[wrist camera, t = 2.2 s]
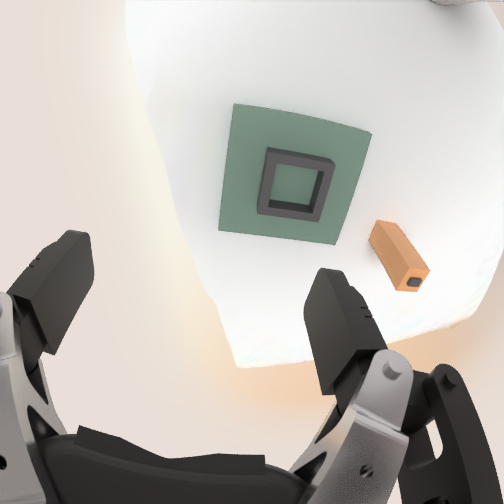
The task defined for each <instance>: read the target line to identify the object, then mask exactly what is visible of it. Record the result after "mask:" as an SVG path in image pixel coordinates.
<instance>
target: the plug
mask: <svg viewBox="0 0 504 504" xmlns="http://www.w3.org/2000/svg"><path fill="white" fill-rule="evenodd" d="M369 242H370V243H371V245H372V247H373V249H374V250H375V252H376V254H377V256H378V257H379V259H380V261H381V263H382V265H383V266H384V268H385V270H386V272H387V274H388V276H389V278H390V280H391V281H392V283H393V285H394V287H395V289H396V291H411V292H417V291H418V289H419V288H420V286H421V285H422V283H423V281H424V280H425V278H426V276H427V275H428V273H429V271H430V270H429V268H428V267H427V265H426V264H425V262H424V261H423V259H422V258H421V256H420V255H419V254H418V252H417V251H416V249H415V248H414V247H413V245H412V244H411V242H410V241H409V240H408V238H407V237H406V236H405V234H404V233H403V232H402V230H401V229H400V228H399V226H398V225H397V224H395V223H390V222H386V221H381V220H377V221H376V224H375V226H374V229H373V231H372V233H371V236H370V238H369Z"/></svg>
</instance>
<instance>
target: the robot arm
mask: <svg viewBox="0 0 504 504" xmlns="http://www.w3.org/2000/svg"><path fill="white" fill-rule="evenodd" d="M431 1H433V2H435V3H437V4H440V5H450V4H459V3H471V2H495V1H496V2H497V1H499V2H504V0H431ZM93 280H94V265H93V259H92V250H91V242H90V236H89V234H88V233H86V232H80V231H74V230H68V231H66V232H65V233H64V234H63V235H62V236H61V237H60V239H58V241H57V242H54V243H52V244H50V245H49V246H47V247H46V248H44V249H43V250H42V251H41V252H40V253H39V254H38V255H37V257H36V259H34V260H33V261H32V262H31V263H30V264H29V267H27V268H26V269H25V270H24V271H23V273H22V274H21V275H20V276H19V277H18V278H17V280H16V281H15V282H14V283H13V285H12V286H11V287H10V288H9V290H8V291H7V292H6V293H3V292H0V504H386V503H387V501H388V499H389V497H390V494H391V492H392V489H393V487H394V484H395V482H396V479H397V477H398V482H399V488H400V493H401V499H402V504H503V499H502V494H501V489H500V484H499V480H498V476H497V472H496V468H495V465H494V461H493V457H492V454H491V451H490V448H489V445H488V442H487V439H486V436H485V433H484V430H483V427H482V424H481V422H480V419H479V417H478V414H477V411H476V409H475V407H474V404H473V402H472V400H471V397H470V395H469V392H468V390H467V388H466V386H465V383H464V381H463V379H462V377H461V375H460V374H459V373H458V371H457V370H456V369H454V368H453V367H451V366H450V365H447V364H439V365H438V366H436V367H435V369H434V370H433V371H432V372H431V373H430V374H428V373H424V372H419V371H415V370H413V369H412V367H411V365H410V363H409V362H408V360H407V359H406V358H405V357H404V356H402V355H401V354H400V353H398V352H396V351H393V350H388V348H387V346H386V343H385V341H384V339H383V337H382V335H381V333H380V331H379V328H378V326H377V324H376V322H375V320H374V318H372V314H371V312H370V310H369V309H368V306H367V304H366V302H365V300H364V298H363V296H362V295H361V294H360V293H359V292H358V291H357V290H356V289H355V288H354V287H353V286H350V285H349V283H348V281H347V279H346V277H345V275H344V273H343V272H342V271H339V270H332V269H325V268H321V269H319V271H318V272H317V275H316V277H315V280H314V282H313V285H312V287H311V289H310V292H309V294H308V297H307V299H306V302H305V305H304V321H305V324H306V328H307V332H308V336H309V340H310V345H311V349H312V353H313V357H314V361H315V365H316V369H317V374H318V378H319V382H320V387H321V391H322V395H335V396H336V399H337V401H336V402H335V403H334V404H333V406H332V408H331V410H330V411H329V413H328V415H327V417H326V418H325V420H324V422H323V424H322V425H321V427H320V429H319V430H318V432H317V434H316V435H315V437H314V439H313V440H312V442H311V443H310V445H309V446H308V448H307V449H306V450H305V452H304V453H303V454H302V455H301V456H300V457H299V458H298V460H297V461H296V462H295V463H294V464H293V466H292V467H291V469H290V470H289V471H286V470H283V469H281V468H279V467H275V466H272V465H269V464H265V455H238V454H218V453H217V454H211V455H203V456H195V457H185V458H173V459H169V458H164V457H161V456H159V455H156V454H154V453H152V452H149V451H147V450H145V449H143V448H141V447H138V446H136V445H134V444H132V443H130V442H128V441H126V440H124V439H122V438H120V437H116V436H113V435H109V434H106V433H102V432H99V431H96V430H92V429H89V428H86V427H83V426H80V425H79V427H78V431H77V434H67V432H66V430H65V428H64V426H63V424H62V422H61V421H60V419H59V417H58V415H57V413H56V411H55V409H54V406H53V402H52V399H51V396H50V393H49V389H48V385H47V381H46V377H45V373H44V369H43V364H42V361H41V359H40V356H41V354H42V352H43V351H44V352H46V353H49V354H52V355H55V354H56V352H57V350H58V348H59V345H60V343H61V341H62V339H63V337H64V335H65V333H66V331H67V330H68V328H69V326H70V324H71V322H72V320H73V318H74V316H75V314H76V313H77V311H78V309H79V307H80V305H81V304H82V302H83V300H84V298H85V296H86V294H87V293H88V291H89V290H90V288H91V286H92V284H93ZM434 419H435V421H436V425H437V428H438V430H439V434H440V437H441V440H442V444H443V451H442V454H441V455H440V457H439V458H438V459H436V458H435V456H434V452H433V448H432V445H431V441H430V438H429V435H428V431H427V428H426V425H427V424H429V423H430V422H431V421H433V420H434Z"/></svg>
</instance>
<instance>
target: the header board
mask: <svg viewBox="0 0 504 504" xmlns="http://www.w3.org/2000/svg"><path fill="white" fill-rule="evenodd" d="M371 136H372V134H371V133H369V132H367V131H364V130H361V129H357V128H354V127H350V126H347V125H343V124H339V123H336V122H332V121H328V120H324V119H319V118H315V117H311V116H306V115H301V114H297V113H291V112H286V111H281V110H275V109H269V108H263V107H256V106H249V105H242V104H234V108H233V114H232V121H231V129H230V136H229V143H228V151H227V159H226V167H225V175H224V183H223V192H222V201H221V210H220V219H219V229H218V230H219V231H227V232H236V233H244V234H253V235H261V236H269V237H277V238H285V239H293V240H301V241H309V242H316V243H324V244H331V245H335V244H336V242H337V239H338V237H339V234H340V231H341V228H342V226H343V223H344V220H345V217H346V215H347V212H348V209H349V206H350V203H351V200H352V197H353V194H354V191H355V188H356V185H357V182H358V179H359V176H360V173H361V170H362V167H363V163H364V160H365V157H366V153H367V150H368V147H369V143H370V140H371Z"/></svg>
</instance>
